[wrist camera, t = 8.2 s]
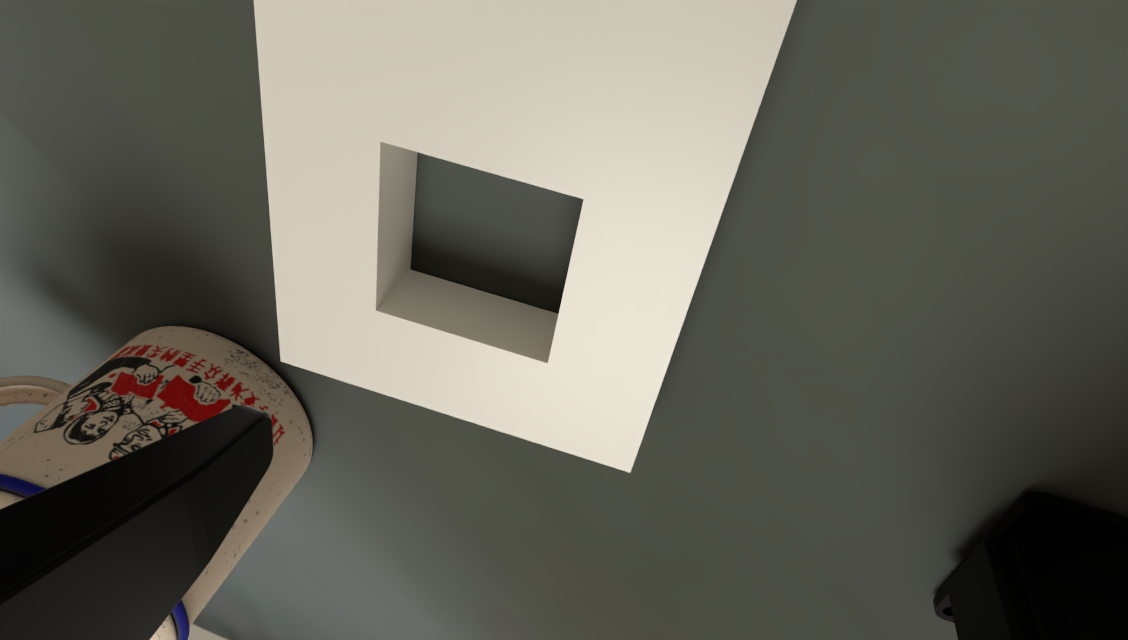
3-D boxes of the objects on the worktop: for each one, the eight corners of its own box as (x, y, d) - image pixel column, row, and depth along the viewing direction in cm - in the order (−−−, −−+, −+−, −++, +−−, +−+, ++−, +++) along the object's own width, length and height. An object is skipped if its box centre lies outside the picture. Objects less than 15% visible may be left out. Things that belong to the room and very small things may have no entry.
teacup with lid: (342, 385, 27) (113, 673, 18) (303, 514, 33) (112, 787, 23) (53, 241, 27) (-337, 461, 17) (62, 397, 32) (-231, 627, 23)
